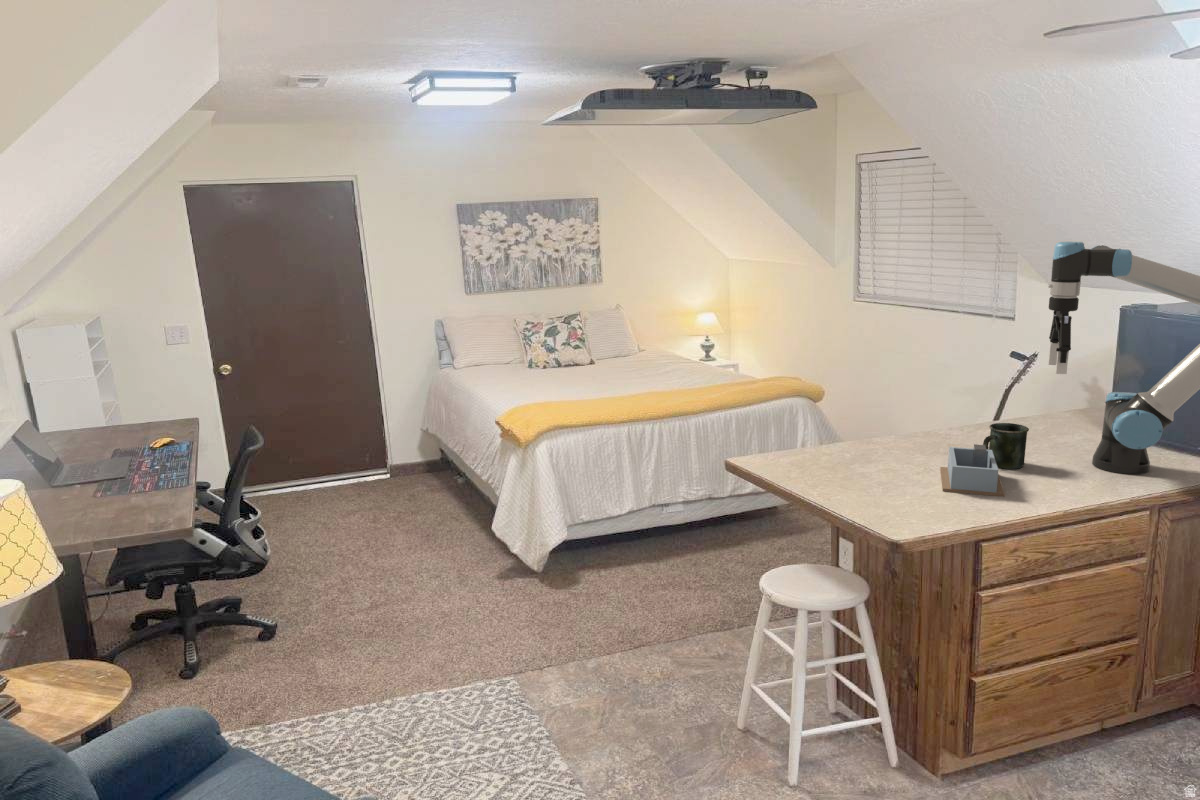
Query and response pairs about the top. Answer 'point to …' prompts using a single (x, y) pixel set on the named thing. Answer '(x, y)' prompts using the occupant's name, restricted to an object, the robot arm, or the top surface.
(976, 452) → the brushed grey block
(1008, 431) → the mug
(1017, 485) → the top surface
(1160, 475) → the top surface
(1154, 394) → the robot arm
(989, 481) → the box
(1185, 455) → the top surface
